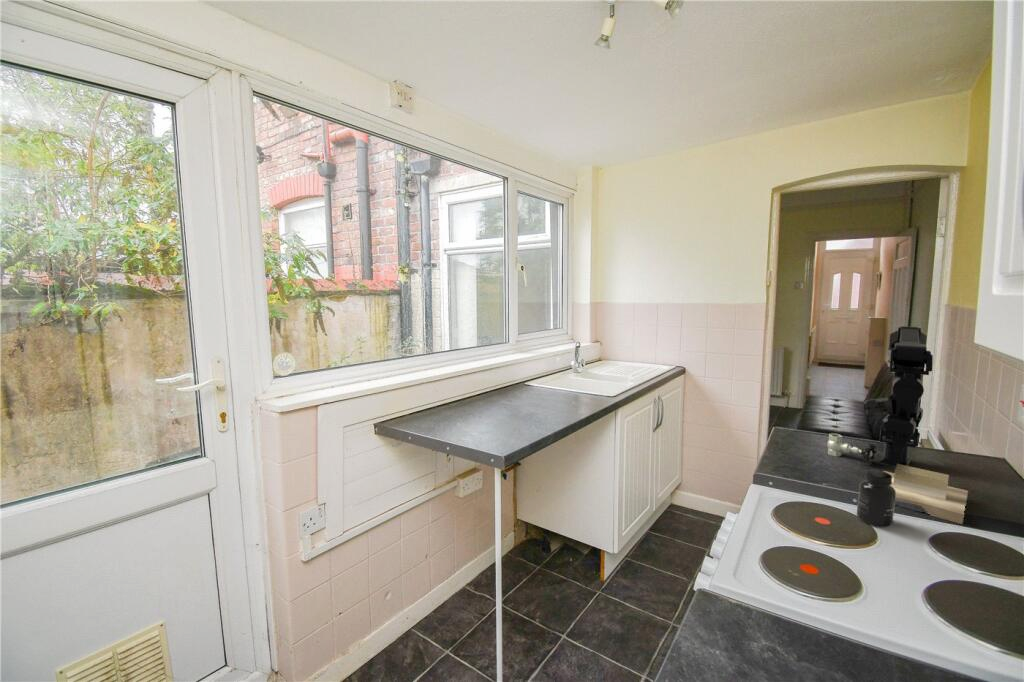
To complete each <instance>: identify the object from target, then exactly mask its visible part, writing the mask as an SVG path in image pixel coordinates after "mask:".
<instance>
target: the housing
mask: <svg viewBox="0 0 1024 682" xmlns="http://www.w3.org/2000/svg"><path fill="white" fill-rule="evenodd" d="M894 473H895V474H894V483H893V488H897V489H901V490H905V491H909V492H913V493H917V494H921V495H925V496H929V497H933V498H937V499H941V500H946V494H947V487H948V486H949V485H948V484H949V478H950V477H949V476H950V475H949V474H946V473H941V472H937V471H931V470H928V469H924V468H923V469H922V468H920V467H919V468H918V467H913V466H909V465H908V466H905V465H901V464H897V465H895V469H894Z"/></svg>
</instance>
